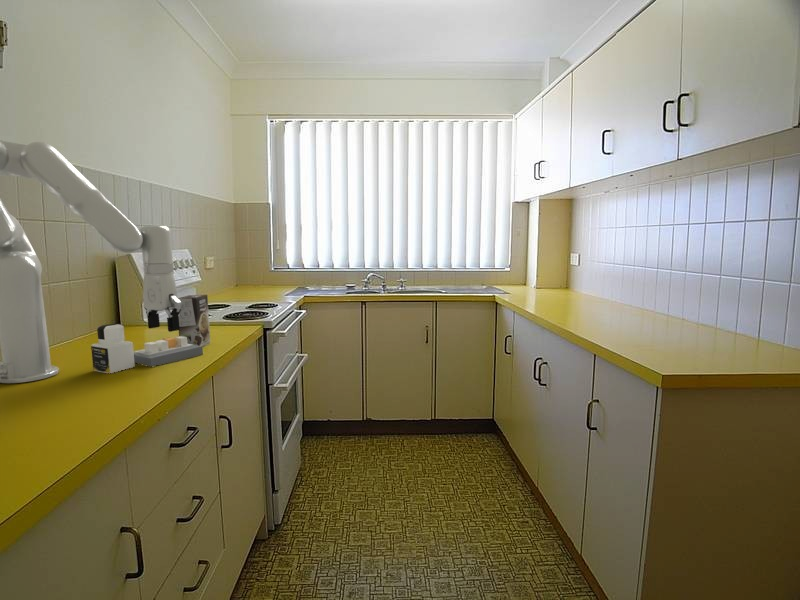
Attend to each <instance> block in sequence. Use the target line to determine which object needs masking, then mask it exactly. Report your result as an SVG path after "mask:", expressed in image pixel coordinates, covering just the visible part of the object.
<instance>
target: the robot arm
mask: <svg viewBox="0 0 800 600" xmlns="http://www.w3.org/2000/svg"><path fill="white" fill-rule="evenodd" d="M0 175H6V176H12V177H18V178H26V179H33V180H36V181H38V182H39V183H40V184H41V185H42V186H43V187H45V189H47V190H48V191H49V192H50V193H51V194H52V195H53V197H55V198H56V199H57V200H58V201H59V202H61V204H63V205H64V206H65V208H67V209H68V210H69V211H71V212H72V213H73V214H75V215H76V216H77V217H79V218H81V219H82V220H83V221H85V222H86V223H87V224H88V225H89V226H91V227H92V228H93V229H94V230H95V231H96V232H97V233H98V234H99V235H100V236H102V237H103V238H104V239H105V240H106V242H107V243H108V244H109V245H110V246H111V247H112V248H113V250H115V251H116V252H119V253H123V254H133V253H135V252H138V251H141V253H142V263H143V265H142V266H143V282H142V295H143V296H142V297H143V298H142V303H143V307H144V309H145V314H146V317H147V328H148V329H155V328H160V325H161V324H160V313H158V311H159V312H162V311H165V313H166V315H167V317H166V321H167V322H166V323H167V332H170V333H171V332H176V331H179V329H180V327H179V316H180V311H181V305H182V303H181V301H180V300H178V299H177V298H178V292H177V283H176V280H175V276H174V273H175V272H174V261H173V249H172V237H171V235H172V234H171V229H170V228H169V227H168V225H167V226H166V225H143V226H136V225H135V224H134V223H133V222H132V221H131V220H129V219H128V218H127V216H126V215H124V214H123V213H122V212H121V211H120V210H119V209H118V208H117V207H116V206H114V204H113V203H112V202H111V201H110V200H108V198H106V196H105V195H104V194H103V192H101V191H100V190H99V189H98V188H97V187H96V186H95V185H94V184H93V183H92V182H91V181H90V180H89V179H88V178H86V177H85V176H84V175H83V174H82V172H80V170H78V168H76V167H75V166H74V165H73V164H72V163H71V162H70V161H69V160H68V159H67V158H66V157H65V156H64V155H63V154H62V153H61V152H60V151H59V150H57V148H55V147H54V146H53V145H51V144H49V143H48V142H44V141H33V142H30V143H28V144H23V143H17V142H11V141H6V140H0ZM42 273H43V266H42V263H41V261H40V259H39V257H38V255H37V252H36V251H35V249H34V248H33V246H32V244H31V242H30V240H29V238H28V236H27V233H26V232H25V230H24V228H23V227H22V225H21V223H20V222H19V220H18V219H17V218H16V217H15V216H14V215H12V214H10V212H9V211H8V208H7V207H6V205H5V203H4V202H3V200H2V198H1V197H0V349H1V356H2V357H1V358H2V361H0V383H1V384H18V383H20V384H21V383H27V382H35V381H39V380H44V379H48V378H51V377H54V376H55V375H57V374H58V373H59V370H60V368H59V367H58V366H56V365H51V364H52V362H51V354H50V345H49V336H48V335H49V334H48V329H47V328H48V327H47V318H46V313H45V312H46V311H45V303H44V296H43V295H44V294H43V286H42V277H41V276H42Z"/></svg>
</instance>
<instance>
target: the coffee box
mask: <svg viewBox="0 0 800 600" xmlns="http://www.w3.org/2000/svg"><path fill="white" fill-rule="evenodd" d="M177 299H178V300H180V301H181V303H182V305H181V311H180V316H179V327H180V329H179V330H178V336H183V337H187V344H193V345H197V346H202V348H204V347H206V346H207V345H209V344H211V331H210V318H209V302H208V300H209V299H208V294H192V295H190V294H189V295H184V296H182V297H177Z"/></svg>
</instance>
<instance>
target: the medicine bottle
mask: <svg viewBox="0 0 800 600" xmlns="http://www.w3.org/2000/svg"><path fill="white" fill-rule="evenodd" d="M96 330H97V340H98V342H97V343H92V344H91V345H90V350H91V358H92V368H93V371H94V372H98V373H102V374H103V373H104V374H108V373H109V374H108V375H110V373H111V374H114V372H115V373H118V371H119V372H121V370H123V371H126V370H129V368H130V369H134V368H135V367H136V366H135V365H136V364H135V363H134V352H133V351H134V344H133V342H132V341H129V340H125V339H126V337H125V328H124V325H123V324H121V323H110V324H103V325H100V326H98V327H97V329H96ZM133 367H134V368H133ZM125 369H126V370H125Z"/></svg>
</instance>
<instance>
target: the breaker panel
mask: <svg viewBox="0 0 800 600" xmlns="http://www.w3.org/2000/svg"><path fill="white" fill-rule="evenodd" d="M133 352H134V363H138V364H137V365H139V364H143V365H147V366H150V367H149V368H152V367H151V366H155V367H157V366H156V365H159V366H162V364H163V365H166V363H167V364H170V363H174V362H179V361H183V360H186V359H191V358H194V357H198V356H203V355H204V351H203V347H202V346H197V345H193V344H187V337H183V336H179V335H178V336H174V337H165V338H162V339H160V340H155V341H150V342H149V341H148V342H144V348H141V349H139V350H133ZM143 365H142V366H143ZM147 366H146V367H147Z"/></svg>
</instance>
